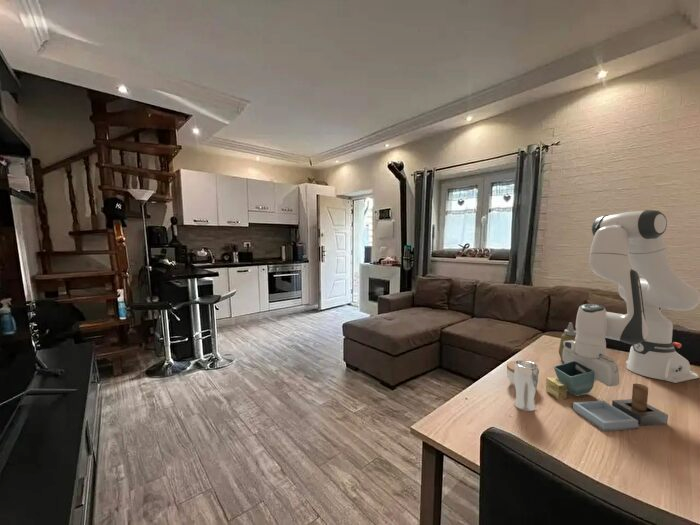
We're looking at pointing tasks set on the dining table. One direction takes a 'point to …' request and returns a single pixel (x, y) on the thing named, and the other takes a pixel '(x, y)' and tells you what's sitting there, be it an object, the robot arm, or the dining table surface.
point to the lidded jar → (512, 371)
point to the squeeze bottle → (567, 337)
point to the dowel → (639, 397)
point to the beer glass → (525, 384)
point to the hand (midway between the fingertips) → (587, 385)
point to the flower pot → (575, 377)
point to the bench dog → (556, 388)
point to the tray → (605, 415)
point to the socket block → (642, 413)
